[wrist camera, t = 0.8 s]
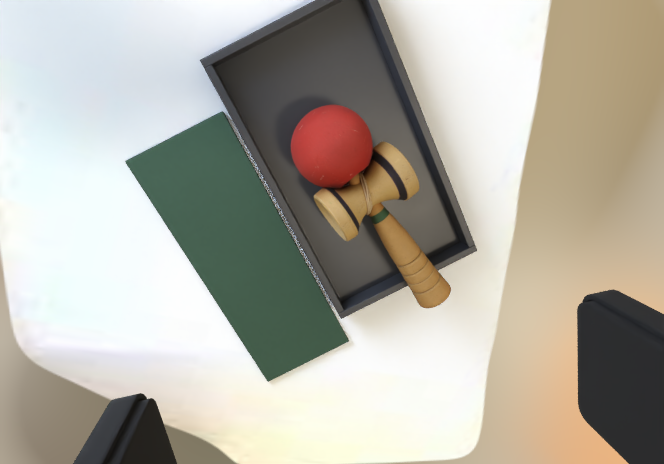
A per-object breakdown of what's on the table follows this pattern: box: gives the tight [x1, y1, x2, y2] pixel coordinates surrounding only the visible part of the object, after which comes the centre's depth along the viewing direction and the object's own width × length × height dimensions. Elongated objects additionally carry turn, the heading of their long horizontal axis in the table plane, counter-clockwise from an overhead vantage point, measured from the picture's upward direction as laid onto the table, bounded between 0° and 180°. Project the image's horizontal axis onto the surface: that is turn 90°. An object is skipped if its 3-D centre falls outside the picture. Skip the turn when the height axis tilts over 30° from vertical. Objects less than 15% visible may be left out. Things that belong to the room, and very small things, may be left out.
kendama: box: [291, 105, 451, 308], centre depth 33 cm, size 8×6×18 cm
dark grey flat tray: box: [200, 0, 477, 319], centre depth 34 cm, size 23×13×2 cm, turn 26°
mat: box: [125, 112, 348, 382], centre depth 36 cm, size 23×8×1 cm, turn 26°
